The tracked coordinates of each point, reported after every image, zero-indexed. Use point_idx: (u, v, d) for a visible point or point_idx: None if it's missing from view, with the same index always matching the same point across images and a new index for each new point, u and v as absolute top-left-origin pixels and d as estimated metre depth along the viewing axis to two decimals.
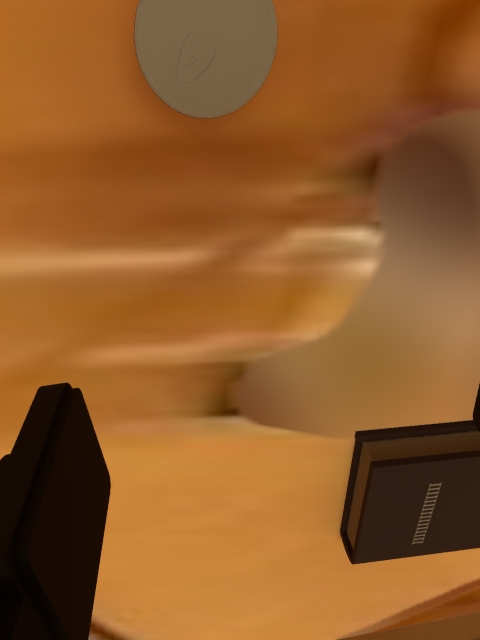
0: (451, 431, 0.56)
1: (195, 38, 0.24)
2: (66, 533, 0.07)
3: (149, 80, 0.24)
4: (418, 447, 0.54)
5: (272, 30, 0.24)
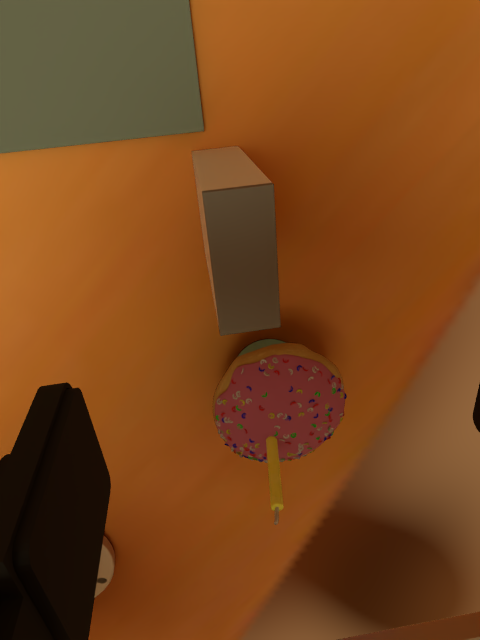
0: None
1: None
2: (66, 533, 0.07)
3: None
4: None
5: None
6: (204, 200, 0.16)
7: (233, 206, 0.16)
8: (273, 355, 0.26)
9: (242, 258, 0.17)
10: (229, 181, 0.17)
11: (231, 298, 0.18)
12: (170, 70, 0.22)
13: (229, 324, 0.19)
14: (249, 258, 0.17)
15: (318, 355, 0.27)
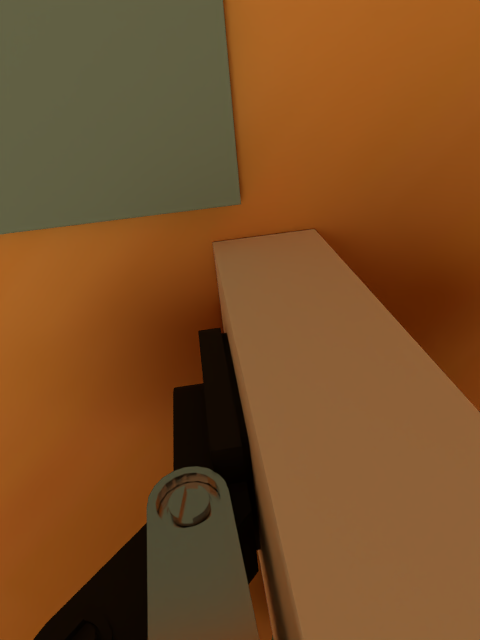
0: None
1: None
2: None
3: None
4: None
5: None
6: None
7: None
8: None
9: None
10: (428, 571, 0.04)
11: None
12: (160, 64, 0.09)
13: None
14: None
15: None
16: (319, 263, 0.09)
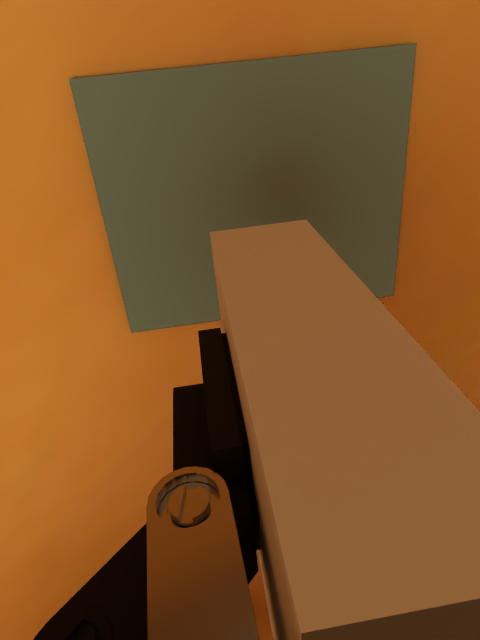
0: None
1: None
2: None
3: None
4: None
5: None
6: None
7: None
8: None
9: None
10: (388, 491, 0.04)
11: None
12: (376, 255, 0.27)
13: None
14: None
15: None
16: (309, 249, 0.10)
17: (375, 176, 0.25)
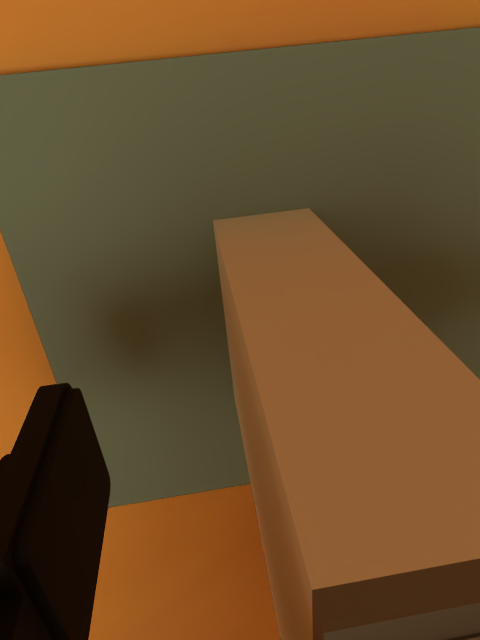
0: None
1: None
2: (66, 533, 0.07)
3: None
4: None
5: None
6: None
7: None
8: None
9: None
10: (395, 459, 0.04)
11: None
12: None
13: None
14: None
15: None
16: (312, 236, 0.10)
17: None
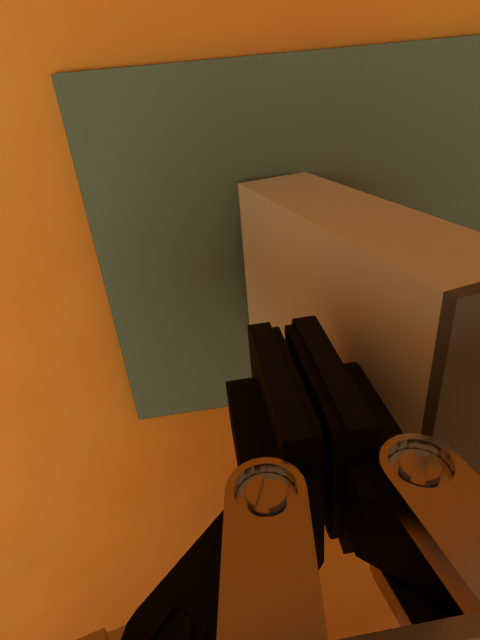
0: None
1: None
2: None
3: None
4: None
5: None
6: (456, 313, 0.07)
7: None
8: None
9: None
10: (450, 257, 0.09)
11: None
12: None
13: None
14: None
15: None
16: (323, 185, 0.14)
17: None
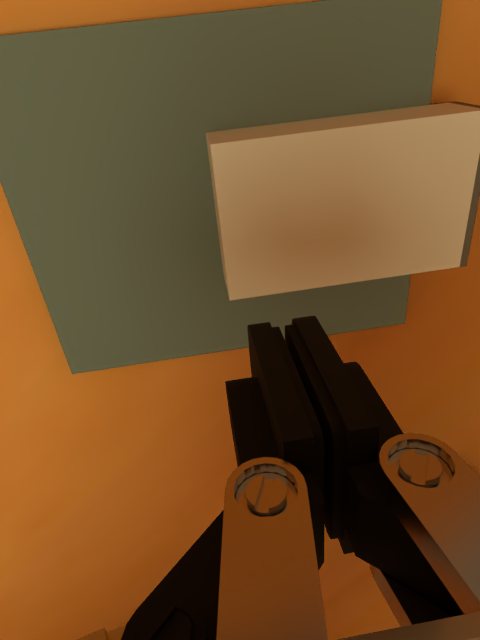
0: None
1: None
2: None
3: None
4: None
5: None
6: None
7: None
8: None
9: None
10: (440, 110, 0.16)
11: None
12: None
13: None
14: None
15: None
16: (263, 127, 0.17)
17: None
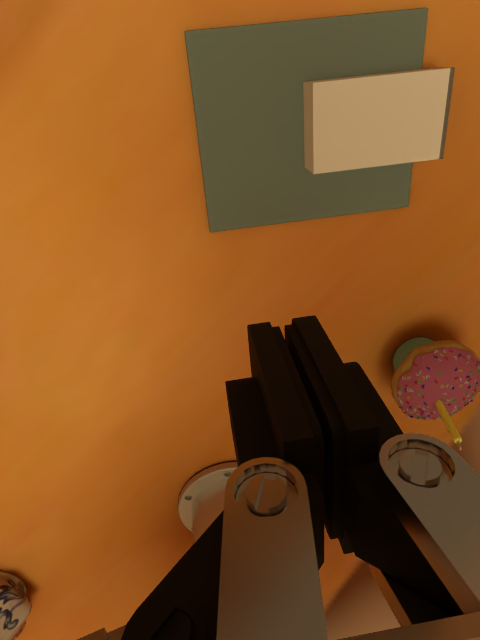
0: None
1: None
2: None
3: None
4: None
5: None
6: (453, 72, 0.31)
7: None
8: (442, 347, 0.40)
9: None
10: (427, 69, 0.32)
11: None
12: (396, 173, 0.36)
13: None
14: None
15: None
16: None
17: None
